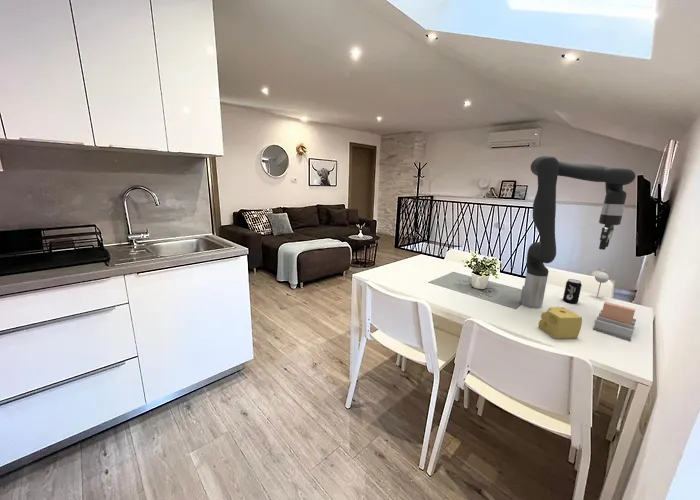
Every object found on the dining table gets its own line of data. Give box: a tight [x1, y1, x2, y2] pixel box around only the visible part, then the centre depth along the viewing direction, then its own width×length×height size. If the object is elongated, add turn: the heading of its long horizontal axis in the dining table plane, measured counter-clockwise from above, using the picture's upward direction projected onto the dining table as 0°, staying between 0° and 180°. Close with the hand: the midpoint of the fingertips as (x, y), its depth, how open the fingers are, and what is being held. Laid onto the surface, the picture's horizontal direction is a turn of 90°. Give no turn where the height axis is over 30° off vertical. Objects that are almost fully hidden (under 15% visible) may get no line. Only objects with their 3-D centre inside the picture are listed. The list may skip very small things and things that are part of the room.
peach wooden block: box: [601, 301, 636, 325], centre depth 126 cm, size 2×10×10 cm, turn 42°
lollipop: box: [594, 271, 610, 299], centre depth 159 cm, size 6×6×15 cm
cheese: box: [538, 306, 583, 340], centre depth 123 cm, size 10×11×10 cm
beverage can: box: [562, 278, 583, 305], centre depth 154 cm, size 7×7×12 cm
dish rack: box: [592, 309, 637, 342], centre depth 127 cm, size 17×12×4 cm
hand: (603, 247), depth 136 cm, fingers open, 8 cm apart
